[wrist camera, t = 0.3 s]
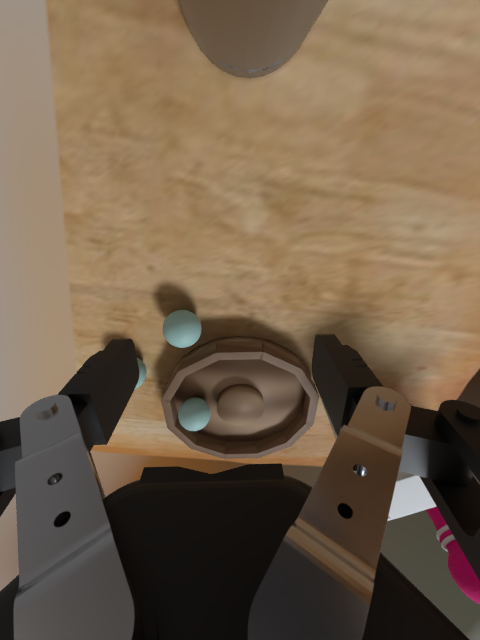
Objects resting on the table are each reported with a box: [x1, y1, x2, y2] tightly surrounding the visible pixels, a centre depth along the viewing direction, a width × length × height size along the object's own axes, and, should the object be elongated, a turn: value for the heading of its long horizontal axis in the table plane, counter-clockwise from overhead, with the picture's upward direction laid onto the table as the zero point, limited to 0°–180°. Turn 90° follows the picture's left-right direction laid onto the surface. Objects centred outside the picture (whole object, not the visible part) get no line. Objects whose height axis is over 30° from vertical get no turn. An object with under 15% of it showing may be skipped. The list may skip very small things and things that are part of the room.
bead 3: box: [178, 397, 211, 431], centre depth 34 cm, size 4×4×4 cm
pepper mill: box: [426, 507, 480, 604], centre depth 33 cm, size 7×7×20 cm
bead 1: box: [135, 358, 146, 389], centre depth 32 cm, size 4×4×4 cm
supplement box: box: [322, 400, 437, 521], centre depth 32 cm, size 7×7×13 cm
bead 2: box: [163, 310, 202, 348], centre depth 29 cm, size 4×4×4 cm
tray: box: [161, 337, 319, 459], centre depth 35 cm, size 19×19×3 cm
